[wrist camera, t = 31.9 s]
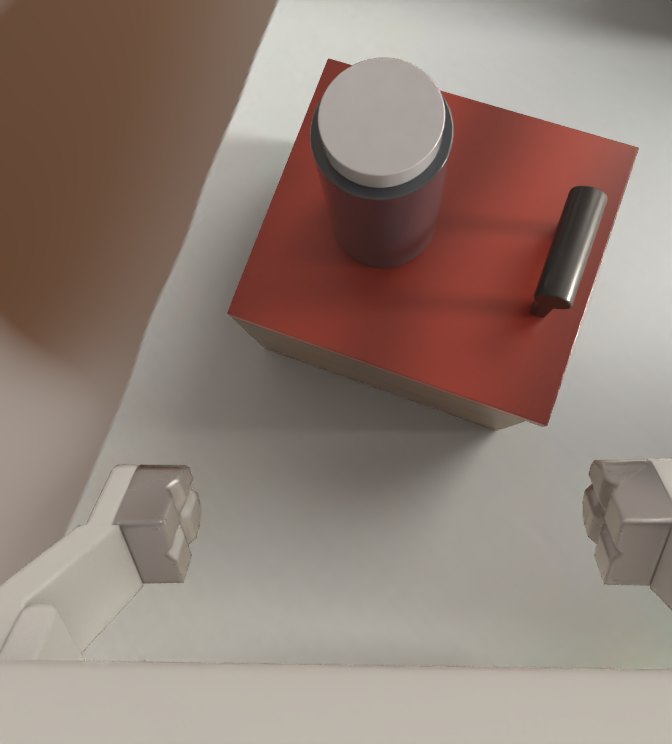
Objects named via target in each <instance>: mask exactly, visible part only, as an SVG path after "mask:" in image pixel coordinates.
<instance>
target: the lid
mask: <svg viewBox="0 0 672 744" xmlns="http://www.w3.org/2000/svg"><path fill="white" fill-rule="evenodd" d="M350 66H352V65H350V64H346V63H343V62H339V61H336V60H332V59H328V60H327V63H326V65H325V68H324V70H323V73H322V75H321V78H320V80H319V83H318V85H317V88H316V90H315V93H314V95H313V98H312V100H311V103H310V106H309V108H308V111H307V113H306V116H305V118H304V121H303V123H302V126H301V128H300V131H299V133H298V136H297V138H296V141H295V143H294V146H293V148H292V151H291V153H290V156H289V158H288V161H287V164H286V166H285V169H284V171H283V174H282V176H281V179H280V181H279V184H278V186H277V189H276V191H275V194H274V196H273V199H272V201H271V204H270V206H269V209H268V211H267V214H266V216H265V219H264V222H263V224H262V227H261V229H260V232H259V234H258V237H257V239H256V242H255V244H254V247H253V249H252V252H251V254H250V257H249V259H248V262H247V264H246V267H245V269H244V272H243V274H242V277H241V280H240V282H239V285H238V287H237V290H236V292H235V295H234V297H233V300H232V302H231V305H230V307H229V310H228V312H227V313H228V314H229V315H230V316H231V317H232V318H235V319H238V320H241V321H244V322H247V323H249V324H252V325H255V326H258V327H261V328H264V329H266V330H269V331H272V332H275V333H278V334H281V335H283V336H286V337H289V338H292V339H295V340H298V341H300V342H303V343H306V344H309V345H312V346H315V347H317V348H320V349H323V350H326V351H329V352H332V353H334V354H337V355H340V356H343V357H346V358H349V359H352V360H354V361H357V362H360V363H363V364H366V365H369V366H371V367H374V368H377V369H380V370H383V371H386V372H388V373H391V374H394V375H397V376H400V377H403V378H405V379H408V380H411V381H414V382H417V383H420V384H422V385H425V386H428V387H431V388H434V389H437V390H440V391H442V392H445V393H448V394H451V395H454V396H457V397H459V398H462V399H465V400H468V401H471V402H474V403H476V404H479V405H482V406H485V407H488V408H491V409H493V410H496V411H499V412H502V413H505V414H508V415H510V416H513V417H516V418H519V419H522V420H525V421H527V422H530V423H533V424H536V425H539V426H542V427H544V426H547V425H548V422H549V419H550V416H551V413H552V410H553V407H554V404H555V401H556V398H557V395H558V392H559V389H560V386H561V383H562V380H563V377H564V374H565V371H566V368H567V365H568V362H569V359H570V356H571V352H572V349H573V346H574V343H575V340H576V337H577V334H578V331H579V328H580V325H581V322H582V319H583V316H584V313H585V310H586V307H587V304H588V301H589V298H590V295H591V292H592V289H593V286H594V283H595V280H596V277H597V274H598V271H599V268H600V265H601V262H602V259H603V256H604V253H605V250H606V247H607V244H608V240H609V237H610V234H611V231H612V228H613V225H614V222H615V219H616V216H617V213H618V210H619V207H620V204H621V201H622V198H623V195H624V192H625V189H626V186H627V183H628V180H629V177H630V174H631V171H632V168H633V165H634V162H635V159H636V156H637V153H638V150H639V148H638V147H634V146H631V145H627V144H624V143H620V142H617V141H613V140H610V139H606V138H603V137H600V136H596V135H593V134H589V133H586V132H582V131H579V130H575V129H572V128H568V127H565V126H561V125H558V124H554V123H551V122H547V121H544V120H541V119H537V118H534V117H530V116H527V115H523V114H520V113H516V112H513V111H509V110H506V109H502V108H499V107H495V106H492V105H488V104H485V103H481V102H478V101H475V100H471V99H468V98H464V97H461V96H457V95H454V94H450V93H447V92H443V91H440V92H441V93H442V94H443V96H444V97H445V99H446V101H447V103H448V105H449V107H450V110H451V113H452V116H453V122H454V139H453V145H452V150H451V155H450V161H449V166H448V171H447V176H446V181H445V186H444V192H443V197H442V202H441V207H440V212H439V217H438V222H437V227H436V230H435V233H434V236H433V238H432V240H431V241H430V243H429V245H428V246H427V247H426V248H425V250H424V251H423V252H421V253H420V254H419V255H418V256H417V257H415V258H414V259H412V260H411V261H409V262H407V263H404V264H402V265H399V266H395V267H388V268H377V267H371V266H367V265H364V264H361V263H359V262H357V261H355V260H354V259H352V258H351V257H349V256H348V255H347V254H346V253H345V252H344V251H343V250H342V249H341V248H340V246H339V245H338V243H337V242H336V240H335V238H334V235H333V233H332V229H331V225H330V221H329V217H328V213H327V209H326V205H325V200H324V196H323V192H322V188H321V184H320V180H319V176H318V172H317V168H316V164H315V160H314V156H313V152H312V148H311V141H310V128H311V123H312V118H313V115H314V112H315V110H316V108H317V106H318V104H319V102H320V100H321V99H322V97H323V95H324V93H325V91H326V89H327V88H328V86H329V85H330V83H331V82H332V81H333V80H334V79H335V78H336V77H337V76H338V75H339V74H340V73H341V72H343V71H344V70H345V69H347V68H349V67H350Z"/></svg>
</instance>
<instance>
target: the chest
mask: <svg viewBox="0 0 672 744" xmlns="http://www.w3.org/2000/svg"><path fill="white" fill-rule="evenodd" d="M233 319H234V320H235V321H236V322H237V323H238V324H240V325H241V326H242V327H243V328H244V329H245V330H246V331H247V332H248V333H249V334H250V335H251V336H252V337H254V338H255V339H256V340H257V341H258V342H259V343H260V344H261V345H262V346H263V347H264V348H266V349H269V350H272V351H274V352H277V353H280V354H283V355H286V356H288V357H291V358H294V359H297V360H300V361H302V362H305V363H308V364H311V365H314V366H316V367H319V368H322V369H325V370H328V371H330V372H333V373H336V374H339V375H342V376H345V377H347V378H350V379H353V380H356V381H359V382H361V383H364V384H367V385H370V386H373V387H375V388H378V389H381V390H384V391H387V392H389V393H392V394H395V395H398V396H401V397H403V398H406V399H409V400H412V401H415V402H418V403H420V404H423V405H426V406H429V407H432V408H434V409H437V410H440V411H443V412H446V413H448V414H451V415H454V416H457V417H460V418H462V419H465V420H468V421H471V422H474V423H476V424H479V425H482V426H485V427H488V428H491V429H493V430H496V431H497V430H500V429H503V428H506V427H509V426H512V425H515V424H518V423H521V422H524V421H525V420H522V419H519V418H516V417H513V416H510V415H508V414H505V413H502V412H499V411H496V410H493V409H491V408H488V407H485V406H482V405H479V404H476V403H474V402H471V401H468V400H465V399H462V398H459V397H457V396H454V395H451V394H448V393H445V392H442V391H440V390H437V389H434V388H431V387H428V386H425V385H422V384H420V383H417V382H414V381H411V380H408V379H405V378H403V377H400V376H397V375H394V374H391V373H388V372H386V371H383V370H380V369H377V368H374V367H371V366H369V365H366V364H363V363H360V362H357V361H354V360H352V359H349V358H346V357H343V356H340V355H337V354H334V353H332V352H329V351H326V350H323V349H320V348H317V347H315V346H312V345H309V344H306V343H303V342H300V341H298V340H295V339H292V338H289V337H286V336H283V335H281V334H278V333H275V332H272V331H269V330H266V329H264V328H261V327H258V326H255V325H252V324H249V323H247V322H244V321H241V320H238V319H235V318H233Z"/></svg>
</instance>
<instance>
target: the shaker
mask: <svg viewBox="0 0 672 744" xmlns="http://www.w3.org/2000/svg"><path fill="white" fill-rule="evenodd" d="M453 139H454V122H453V116H452V113H451V110H450V107H449V105H448V103H447V101H446V99H445V97H444V96H443V94H442V93H441V92H440V90H439V88H438V87H437V85H436V84H435V82H434V81H433V80H432V79H431V77H430V76H429V75H428V74H426V73H425V72H424V71H423V70H422V69H420V68H419V67H417V66H415V65H413V64H411V63H409V62H406V61H403V60H399V59H395V58H374V59H368V60H365V61H361V62H359V63H356V64H354V65H352V66H350V67H349V68H347V69H345V70H344V71H343V72H341V73H340V74H339V75H338V76H337V77H336V78H335V79H334V80H333V81H332V82H331V83H330V85H329V86H328V88H327V89H326V91H325V93H324V95H323V97H322V99H321V100H320V102H319V104H318V106H317V108H316V110H315V112H314V115H313V118H312V123H311V128H310V141H311V148H312V152H313V156H314V160H315V164H316V168H317V172H318V176H319V180H320V184H321V188H322V192H323V196H324V200H325V205H326V209H327V213H328V217H329V221H330V225H331V229H332V233H333V235H334V238H335V240H336V242H337V243H338V245H339V246H340V248H341V249H342V250H343V251H344V252H345V253H346V254H347V255H348V256H349V257H351V258H352V259H354V260H355V261H357V262H359V263H361V264H364V265H367V266H371V267H377V268H388V267H395V266H399V265H402V264H404V263H407V262H409V261H411V260H412V259H414V258H415V257H417V256H418V255H419V254H420V253H421V252H423V251H424V250H425V248H426V247H427V246H428V245H429V243H430V241H431V240H432V238H433V236H434V233H435V230H436V227H437V222H438V217H439V212H440V207H441V202H442V197H443V192H444V186H445V181H446V176H447V171H448V166H449V161H450V155H451V150H452V145H453Z"/></svg>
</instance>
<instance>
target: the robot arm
mask: <svg viewBox="0 0 672 744" xmlns="http://www.w3.org/2000/svg"><path fill="white" fill-rule="evenodd" d="M589 477H590V479H591V482H592V485H591V486H589V487H588V488H587V489H586V490H585V492H584V497H583V519H584V525H585V528H586V532H587V535H588V537H589V538H590V539H591V540H593V541H594V542H595V543H596V544H597V547H596V551H595V555H594V556H595V559H596V562H597V565H598V568H599V571H600V574H601V577H602V580H603V582H604V584H607V585H641V586H650V589H651V590H652V591H653V592H654V593H655V594H656V595H657V596H658V597H659V598H660V599H661V600H662V601H663V602H664V603H665V604H666V605H667V606H668V607H669V608H670V609H671V610H672V458H669V459H647V460H645V459H625V460H594V461H593V463H592V464H591V467H590V471H589ZM192 481H193V476H192V473H191V470H190V467H189V466H186V465H117V466H116V467H114V468H113V469H112V470H111V472H110V475H109V477H108V479H107V481H106V483H105V485H104V487H103V489H102V491H101V494H100V496H99V498H98V500H97V502H96V504H95V506H94V508H93V510H92V512H91V515H90V517H89V519H88V521H87V523H86V525H78V526H77V527H76V528H74V529H73V530H72V531H70V532H69V533H68V534H67V535H65V536H64V537H63V538H61V539H60V540H59V541H57V542H56V543H55V544H53V545H52V546H51V547H50V548H48V549H47V550H46V551H44V552H43V553H42V554H40V555H39V556H38V557H37V558H35V559H34V560H32V561H31V562H30V563H29V564H27V565H26V566H24V567H23V568H22V569H21V570H19V571H18V572H17V573H15V574H14V575H13V576H11V577H10V578H9V579H7V580H6V581H5V582H3V583H2V584H1V585H0V744H672V670H669V669H604V668H533V667H459V666H395V665H332V664H268V663H202V662H136V661H85V659H84V657H83V656H82V654H81V653H82V652H83V651H84V650H85V649H86V648H87V647H88V646H89V645H90V643H91V642H92V641H93V640H94V639H95V638H96V637H97V636H98V635H99V634H100V633H101V632H102V630H103V629H104V628H105V627H106V626H107V625H108V624H109V623H110V622H111V621H112V620H113V618H114V617H115V616H116V615H117V614H118V613H119V612H120V611H121V610H122V609H123V608H124V607H125V605H126V604H127V603H128V602H129V601H130V600H131V599H132V598H133V597H134V596H135V595H136V593H137V592H138V591H139V590H140V589H141V588H142V587H143V584H146V583H184V580H185V576H186V573H187V570H188V566H189V563H190V559H191V556H192V555H191V552H190V548H189V544H190V543H191V542H192V541H193V540H194V539H196V538H197V535H198V531H199V527H200V518H201V507H200V500H199V496H198V493H197V492H196V491H194V490H193V489H192V488H191V484H192Z"/></svg>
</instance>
